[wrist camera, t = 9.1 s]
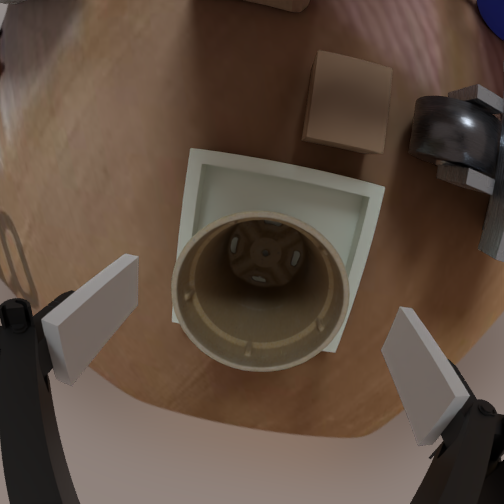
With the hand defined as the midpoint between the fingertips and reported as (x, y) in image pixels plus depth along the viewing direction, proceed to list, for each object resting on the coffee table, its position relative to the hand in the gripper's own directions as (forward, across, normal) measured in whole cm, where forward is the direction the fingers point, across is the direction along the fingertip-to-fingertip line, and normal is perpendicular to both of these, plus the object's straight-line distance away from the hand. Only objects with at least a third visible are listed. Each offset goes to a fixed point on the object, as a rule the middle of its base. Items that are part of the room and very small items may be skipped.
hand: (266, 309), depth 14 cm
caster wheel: (+11, +14, +11) cm, 21 cm away
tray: (+10, 0, -1) cm, 11 cm away
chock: (+11, +3, +11) cm, 16 cm away
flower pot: (+10, 0, -1) cm, 10 cm away
